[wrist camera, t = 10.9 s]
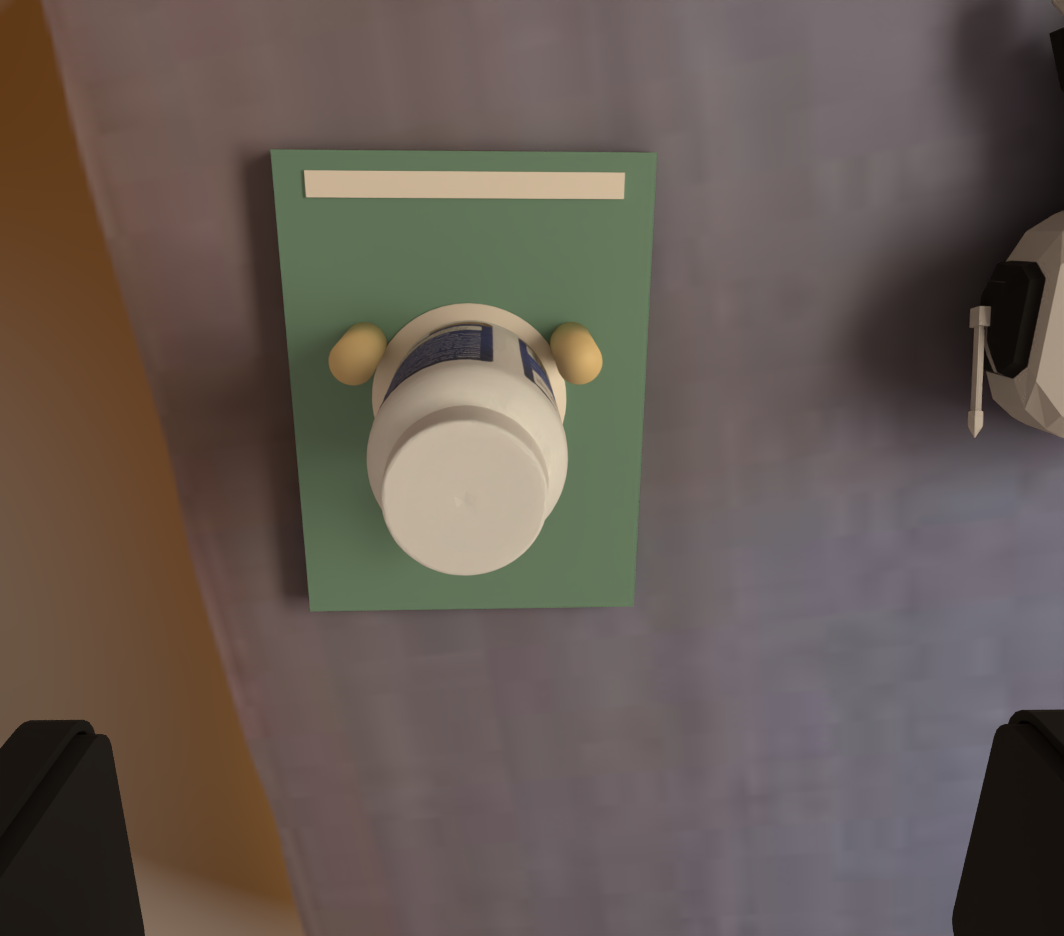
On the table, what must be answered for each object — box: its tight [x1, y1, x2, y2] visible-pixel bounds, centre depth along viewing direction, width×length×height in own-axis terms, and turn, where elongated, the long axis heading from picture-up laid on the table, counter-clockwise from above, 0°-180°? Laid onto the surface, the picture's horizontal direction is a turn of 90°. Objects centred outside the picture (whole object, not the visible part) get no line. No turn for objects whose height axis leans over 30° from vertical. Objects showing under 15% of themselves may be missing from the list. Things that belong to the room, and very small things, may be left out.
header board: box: [270, 149, 657, 611], centre depth 29 cm, size 16×12×4 cm
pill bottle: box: [367, 320, 568, 576], centre depth 25 cm, size 5×5×10 cm
